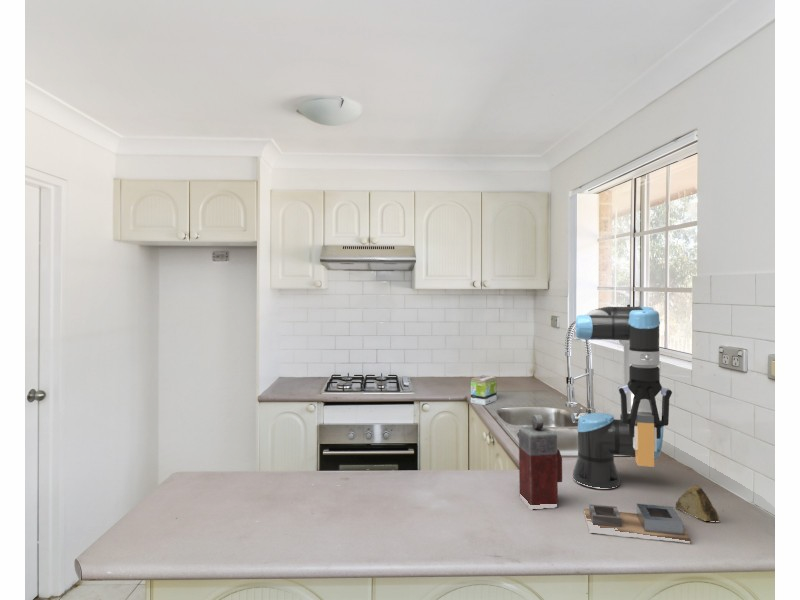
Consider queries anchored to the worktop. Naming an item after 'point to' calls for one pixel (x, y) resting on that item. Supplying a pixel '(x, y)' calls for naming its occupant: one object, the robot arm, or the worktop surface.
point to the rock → (697, 504)
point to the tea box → (483, 389)
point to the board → (622, 521)
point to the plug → (645, 439)
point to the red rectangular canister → (539, 463)
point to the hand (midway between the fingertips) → (644, 448)
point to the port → (659, 519)
